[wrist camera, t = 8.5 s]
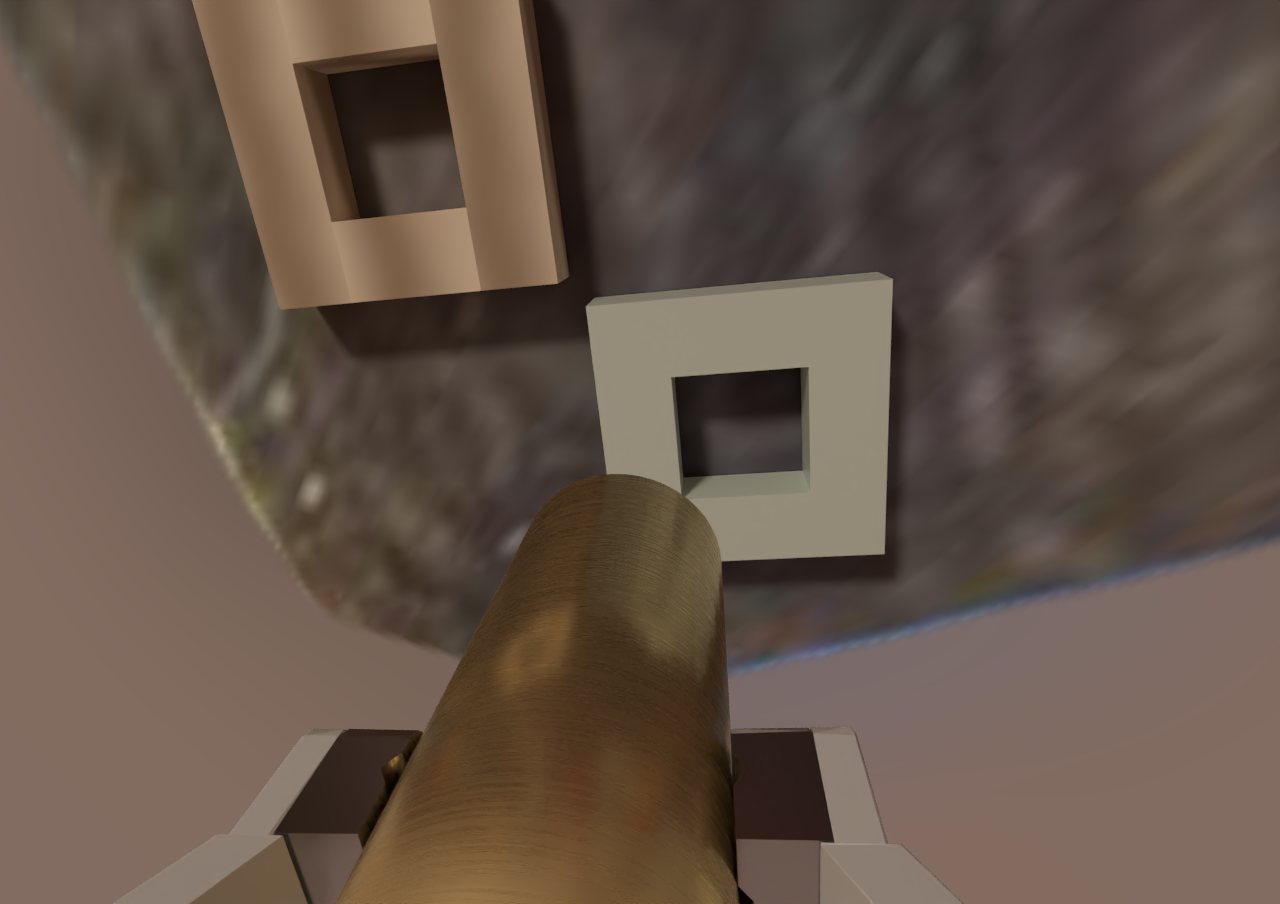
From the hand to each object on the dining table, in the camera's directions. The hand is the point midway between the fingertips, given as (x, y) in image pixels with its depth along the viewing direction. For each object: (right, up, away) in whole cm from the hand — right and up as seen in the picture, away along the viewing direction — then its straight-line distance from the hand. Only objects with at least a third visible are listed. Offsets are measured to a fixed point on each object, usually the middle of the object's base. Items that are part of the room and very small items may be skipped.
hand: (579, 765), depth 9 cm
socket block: (+5, +6, +22) cm, 23 cm away
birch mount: (-9, +17, +19) cm, 27 cm away
